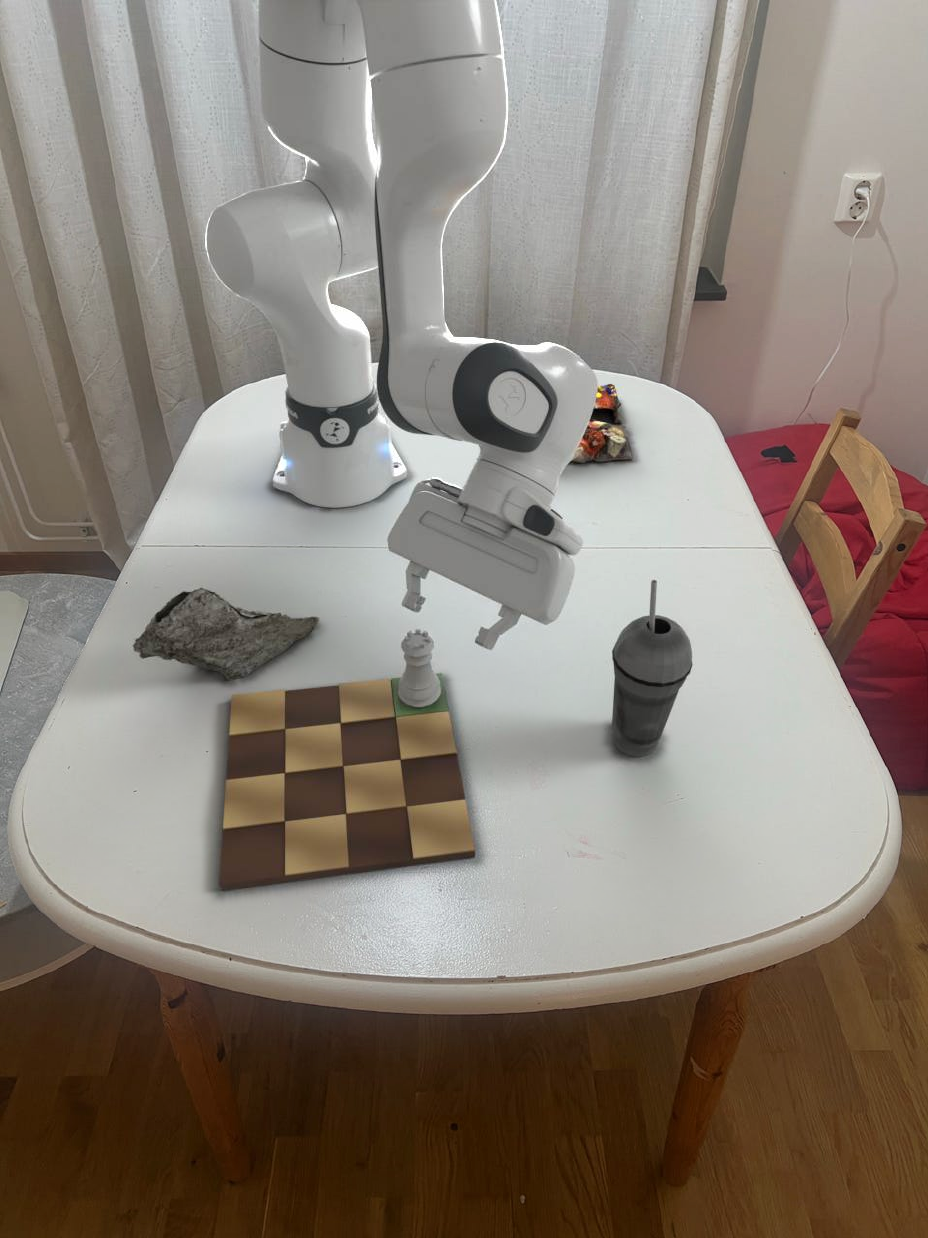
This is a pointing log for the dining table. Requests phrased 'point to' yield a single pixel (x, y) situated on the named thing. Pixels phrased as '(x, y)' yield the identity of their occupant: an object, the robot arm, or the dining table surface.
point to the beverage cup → (647, 679)
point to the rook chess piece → (418, 671)
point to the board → (339, 784)
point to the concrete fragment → (219, 634)
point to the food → (604, 432)
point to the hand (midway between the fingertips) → (445, 627)
